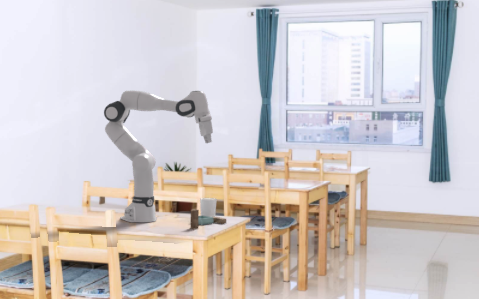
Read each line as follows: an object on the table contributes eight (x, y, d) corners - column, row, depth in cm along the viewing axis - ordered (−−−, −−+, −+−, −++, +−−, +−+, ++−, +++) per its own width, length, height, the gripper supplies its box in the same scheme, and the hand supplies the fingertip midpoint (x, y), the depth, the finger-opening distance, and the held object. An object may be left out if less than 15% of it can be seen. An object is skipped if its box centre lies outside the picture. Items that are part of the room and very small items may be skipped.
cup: (190, 223, 340) (191, 217, 340) (202, 221, 347) (202, 215, 347) (201, 225, 334) (201, 219, 334) (213, 223, 341) (213, 217, 340)
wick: (210, 222, 347) (210, 217, 347) (214, 221, 349) (214, 216, 349) (222, 224, 340) (222, 219, 339) (226, 224, 342) (226, 218, 342)
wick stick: (190, 228, 324) (190, 209, 323) (193, 227, 326) (194, 209, 326) (194, 229, 322) (195, 210, 322) (198, 228, 325) (198, 209, 324)
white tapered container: (214, 220, 350) (214, 200, 350) (197, 219, 352) (198, 199, 352) (217, 218, 360) (218, 198, 359) (202, 217, 362) (202, 197, 361)
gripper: (195, 121, 346) (200, 144, 346) (200, 118, 326) (206, 143, 326) (205, 119, 347) (210, 142, 348) (211, 116, 327) (217, 140, 328)
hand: (208, 142), depth 337 cm, fingers open, 8 cm apart
